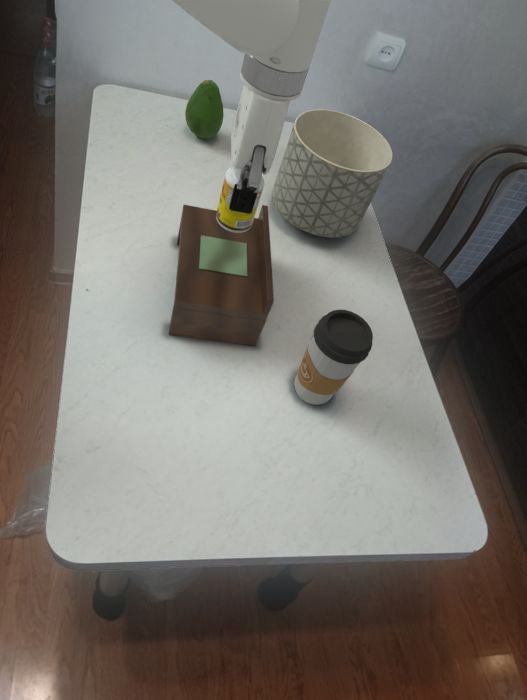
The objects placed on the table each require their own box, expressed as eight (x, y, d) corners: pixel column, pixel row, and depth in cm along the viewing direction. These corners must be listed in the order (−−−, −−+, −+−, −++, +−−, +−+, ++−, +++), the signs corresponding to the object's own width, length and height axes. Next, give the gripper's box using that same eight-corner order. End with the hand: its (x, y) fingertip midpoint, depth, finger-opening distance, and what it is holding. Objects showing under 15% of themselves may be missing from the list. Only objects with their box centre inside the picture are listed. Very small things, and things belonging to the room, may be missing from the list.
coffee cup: (280, 369, 85) (310, 308, 74) (326, 364, 88) (362, 304, 77) (297, 415, 81) (332, 357, 69) (345, 408, 84) (386, 351, 73)
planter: (320, 181, 120) (351, 105, 106) (372, 238, 112) (412, 164, 99) (250, 194, 111) (274, 112, 97) (301, 257, 103) (335, 178, 89)
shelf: (168, 334, 84) (177, 286, 75) (177, 239, 97) (186, 189, 89) (255, 346, 87) (274, 301, 78) (252, 252, 100) (268, 205, 92)
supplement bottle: (225, 204, 82) (240, 145, 75) (257, 221, 82) (275, 163, 74) (208, 223, 79) (222, 163, 71) (241, 240, 78) (259, 182, 71)
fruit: (191, 147, 115) (200, 94, 106) (176, 125, 119) (184, 72, 110) (224, 145, 119) (236, 93, 110) (209, 124, 122) (219, 72, 113)
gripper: (242, 31, 67) (215, 156, 81) (243, 102, 57) (212, 231, 71) (299, 46, 69) (263, 166, 83) (310, 118, 59) (267, 241, 72)
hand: (240, 195), depth 77 cm, fingers closed on supplement bottle, 5 cm apart
